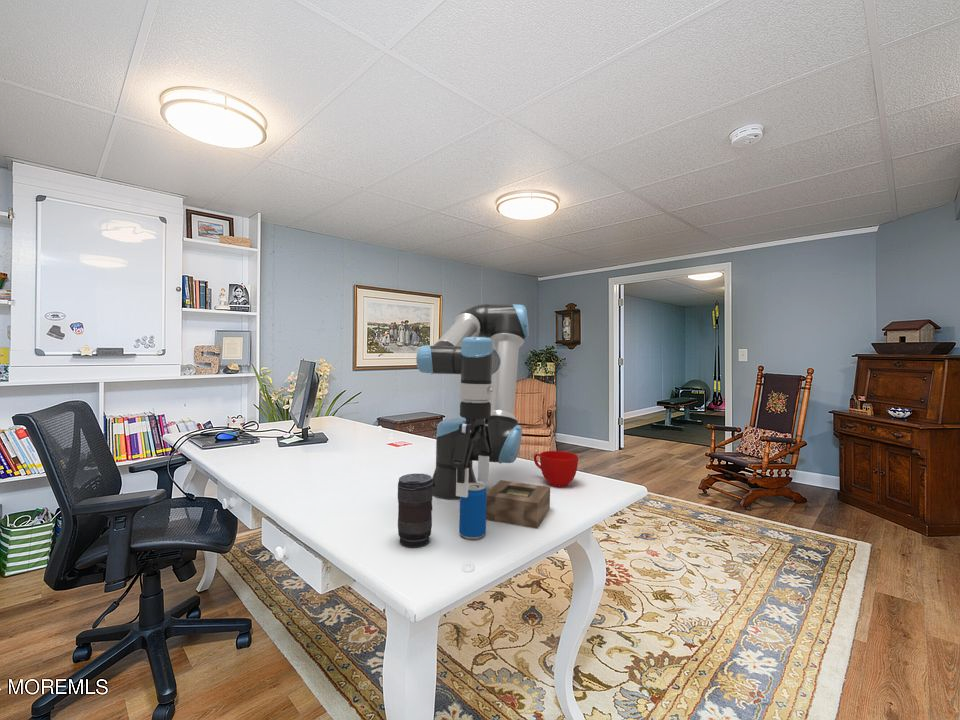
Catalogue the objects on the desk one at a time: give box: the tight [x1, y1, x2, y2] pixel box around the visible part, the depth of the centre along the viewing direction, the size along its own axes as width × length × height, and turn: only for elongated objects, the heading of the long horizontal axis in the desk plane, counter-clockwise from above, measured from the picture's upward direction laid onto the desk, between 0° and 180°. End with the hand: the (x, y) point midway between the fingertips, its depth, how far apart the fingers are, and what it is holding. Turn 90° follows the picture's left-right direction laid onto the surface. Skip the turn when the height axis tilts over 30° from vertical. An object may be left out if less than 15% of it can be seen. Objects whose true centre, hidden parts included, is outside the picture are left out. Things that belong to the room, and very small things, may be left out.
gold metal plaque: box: [505, 489, 531, 497], centre depth 121 cm, size 7×7×1 cm
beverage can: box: [458, 482, 488, 540], centre depth 107 cm, size 6×6×12 cm
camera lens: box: [397, 473, 434, 548], centre depth 102 cm, size 8×8×15 cm
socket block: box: [486, 480, 551, 529], centre depth 121 cm, size 15×15×6 cm
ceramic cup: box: [533, 450, 579, 488], centre depth 152 cm, size 13×17×10 cm
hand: (473, 488), depth 106 cm, fingers open, 13 cm apart
